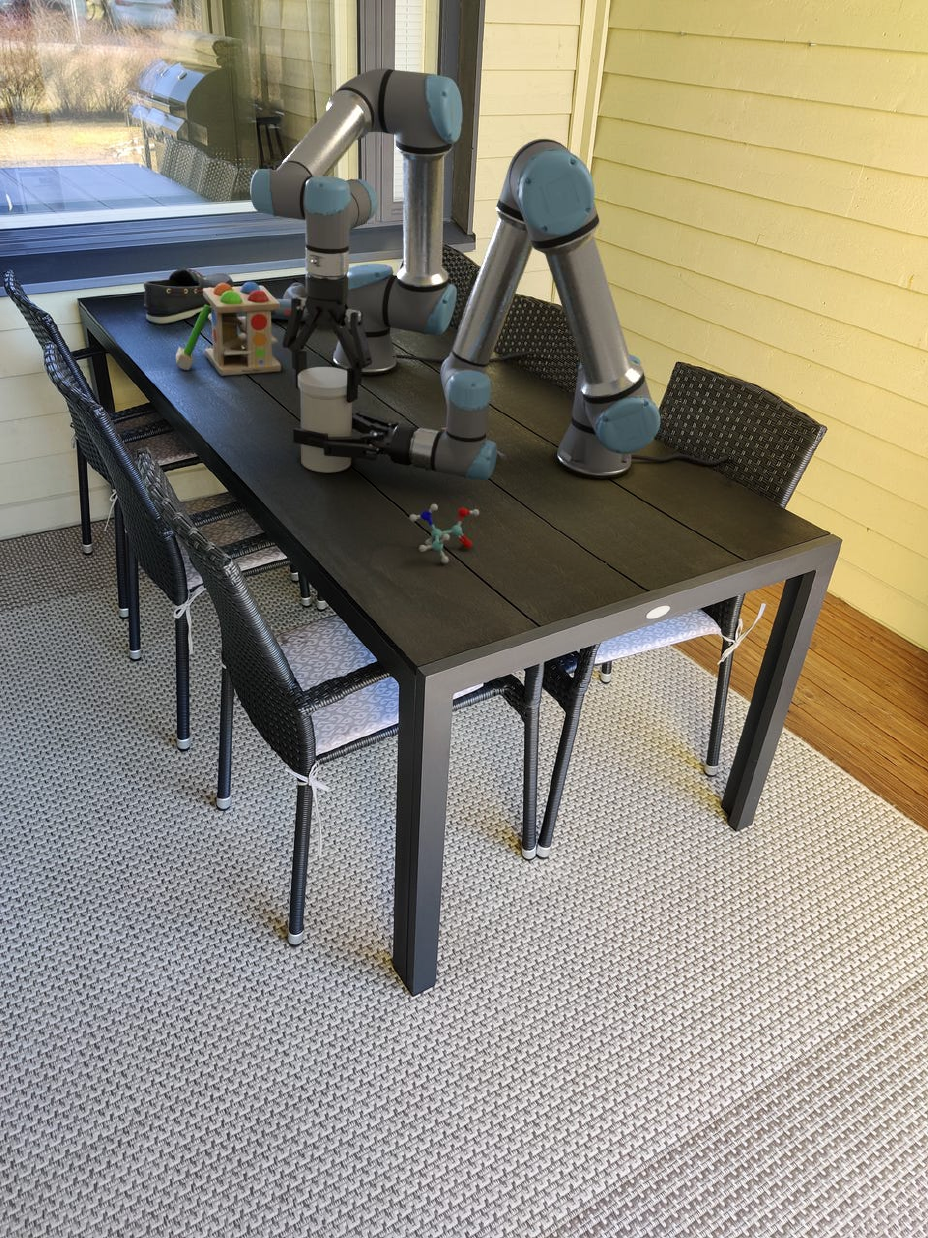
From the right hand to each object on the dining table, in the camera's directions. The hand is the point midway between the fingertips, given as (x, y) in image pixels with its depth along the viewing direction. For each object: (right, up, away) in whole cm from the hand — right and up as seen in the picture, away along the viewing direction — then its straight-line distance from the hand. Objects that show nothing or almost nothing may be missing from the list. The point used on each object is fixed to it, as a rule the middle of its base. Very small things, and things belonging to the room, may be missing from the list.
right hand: (305, 425), depth 190 cm
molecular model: (+26, -26, -22) cm, 43 cm away
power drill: (-12, +46, +78) cm, 91 cm away
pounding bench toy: (-25, +22, +41) cm, 53 cm away
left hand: (+5, +5, -5) cm, 8 cm away
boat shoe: (-42, +46, +73) cm, 96 cm away
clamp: (+31, -3, +12) cm, 34 cm away
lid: (+5, +7, -6) cm, 11 cm away
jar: (+4, -7, +3) cm, 8 cm away
